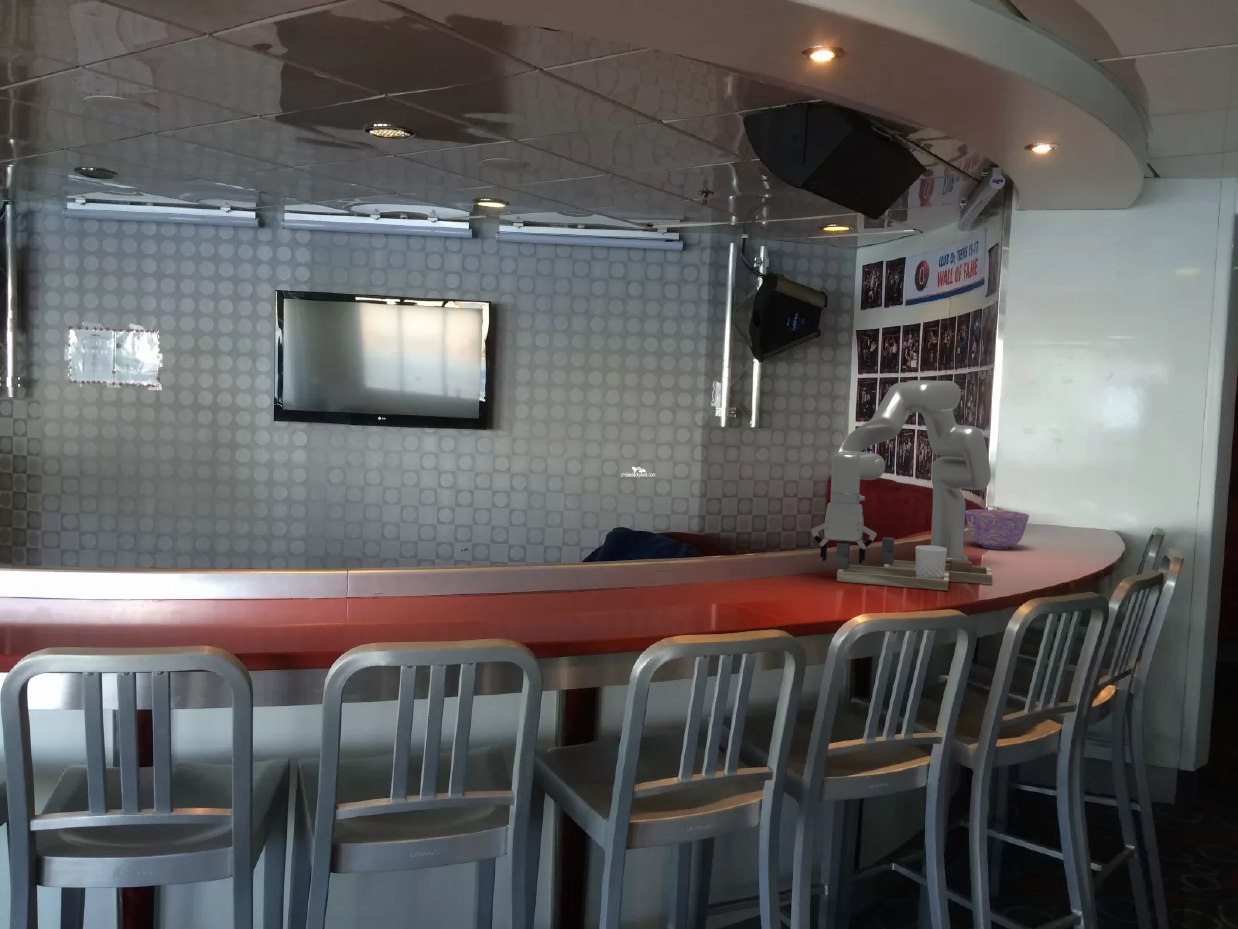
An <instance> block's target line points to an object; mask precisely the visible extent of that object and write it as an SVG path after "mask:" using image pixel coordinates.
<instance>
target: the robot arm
mask: <svg viewBox="0 0 1238 929" xmlns="http://www.w3.org/2000/svg"><path fill="white" fill-rule="evenodd" d="M961 395H962V394H961V388H960V387H959V385H958V384H957V383H955V381H951V380H929V379H928V380H923V379H922V380H919V379H918V380H917V379H915V380H909V381H905V382H896V383H894V384H893V385H891V387H890V386H889V389H888V390H887V392H886V394H885V395H884V397H883V399H882V401H881V403H880V404H879V406H878V408H877V409H876V411H875V412H874V414H873V415H872V418H871V419H870V420H869V421H866V422H865V423H863V424H861V425H860V426H858V427H857V428H856V429H854V430H853V431H851V432H850V433H849V434H848V435H846V437H845V438H844V439H843V440H842V441H841V444H840V445H839V447H838V449H837V450H836V453H834V455H833V456H832V459H831V480H830V482H831V483H830V502H828V504H827V506H826V510H825V518H824V523H822V524H820V525H818V526H815V527H813V528H812V529H811V530H810V532H811V534H812V536H813V538H814V540H815V541H816V542H817V544H818V545H819V546H820V553H819V554H820V558H822V561H823V562H826V560H827V559H828V558H827V556H828V552H827V551H828V546H827V543H828V542H829V541H836V542H838V541H844V542H850V543H851V542H853V543H855V542H856V543H857V544H858V546H859V547H860V548H859V549H858V564H860V565H862V563H863V562H864V561H865V560H866V549H867V548H868V547H869V546H870V545H871V544H872V543H873V541H874V540H875V538H876V537H877V535H878V534H877V532H876V531H874V530H872V529H870V528H869V527H866V526H865V525H864V510H863V505H862V504H861V503H860V502H862V501H864V502H865V500H866V498H865V497H866V496H865V495H862V494H860V488H861V487H860V486H861V485H860V484H861V480H865V481H866V480H867V481H873V480H877V479H879V478H880V477H882V476H883V475H884V473H885V470H886V462H885V460H884V458H883V457H882V456H881V455H880V454H878V453H875V452H869V451H864V450H865V449H867V448H869V447H871V446H874V445H878V444H880V443H883V442H887V441H889V440H892V439H894V438H896V437H898V435H899V434H900V432H901V430H902V429H903V427H904V425H905V423H906V422H907V420H908V419H909V418H908V417H909V416H910V415H911V414H912V413H920V414H921V415H922V417H923V420H924V423H925V424H924V425H925V428H926V432H927V433H926V434H927V438H928V443H929V447H930V449H931V450H932V453H934V454H935V455H938V456H940V457H938V458H936V459H935V460H934V461H933V462H932V463H931V468H930V476H931V484H932V516H931V533H930V534H931V536H930V546H938V547H944V548H946V549H947V554H946V562H948V563H950V559H960V560H969V556H968V555H966V554H964V542H965V541H964V539H965V522H966V519H965V518H966V514H965V511H966V500H965V497H964V494H963V493H962V491H961V489H962V490H971V491H980V490H984V489H986V488H987V487H988V486H989V484H990V483H991V474H992V473H991V465H990V461H989V456H988V455H989V454H988V450H987V446H986V445H987V444H986V440H985V436H984V433H983V432H982V431H981V429H979V428H978V427H975V426H973V425H961V424H957V422H956V418H955V414H954V409H956V407H958V405H959V404H960V401H961ZM820 531H823V534H824V535H823V536H824V538H822V537H821V536H820V535H819V532H820ZM864 533H865V534H867V535H869V537H868V539H867V540H866V541H864V540H863V538H864Z"/></svg>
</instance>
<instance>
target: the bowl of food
mask: <svg viewBox="0 0 1238 929" xmlns="http://www.w3.org/2000/svg"><path fill="white" fill-rule="evenodd" d="M1029 517H1030V515H1029V514H1028V513H1024V512H1019V511H1009V510H1002V509H1001V510H1000V509H999V510H998V509H968V510H967V509H966V510H965V518H966V519H965V520H966V523H967V529H968V532H969V535H970V538H972V540H973V541H974V542H976V544H979V545H981V547H982V548H985V549H991V550H1007V549H1009V547H1012V546H1015V545H1017V544H1019V543H1020V541H1022V539H1023V536H1024V534H1025V531H1026V527H1027V524H1028V521H1029Z"/></svg>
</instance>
